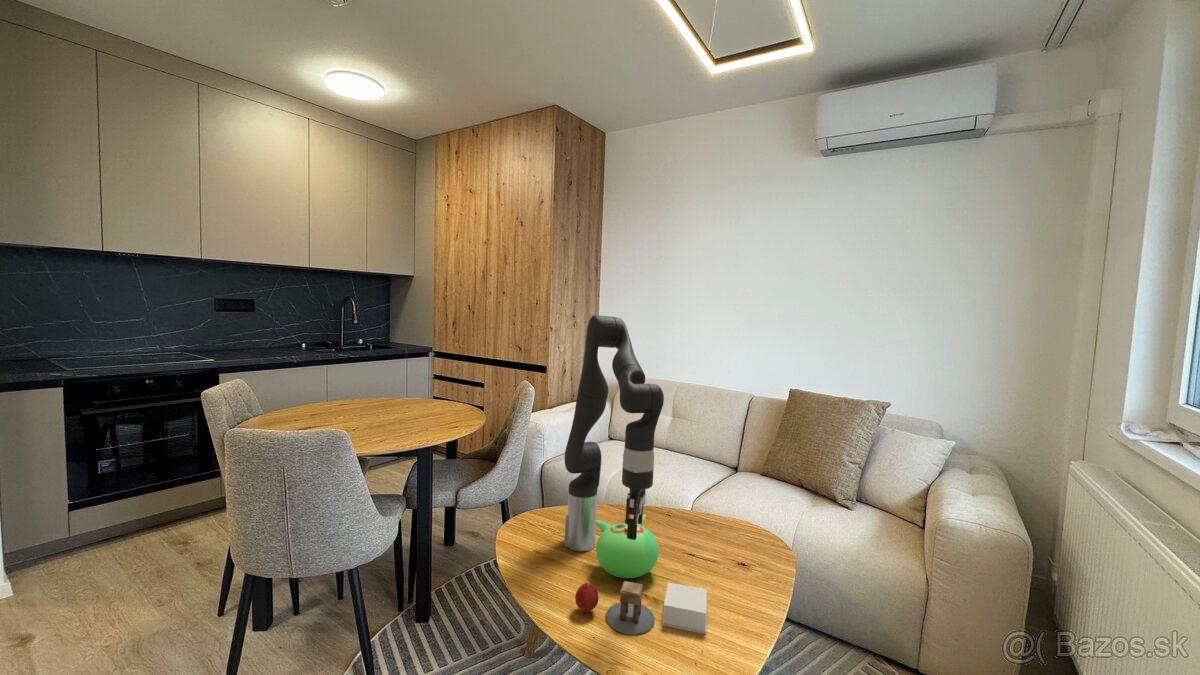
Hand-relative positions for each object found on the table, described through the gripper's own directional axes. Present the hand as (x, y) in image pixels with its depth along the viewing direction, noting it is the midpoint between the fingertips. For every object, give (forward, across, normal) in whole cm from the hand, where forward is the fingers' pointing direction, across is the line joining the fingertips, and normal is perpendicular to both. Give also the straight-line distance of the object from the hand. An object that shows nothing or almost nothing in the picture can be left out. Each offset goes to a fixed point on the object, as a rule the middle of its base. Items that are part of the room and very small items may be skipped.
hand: (634, 530), depth 113 cm
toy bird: (+22, -20, -5) cm, 30 cm away
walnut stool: (+22, 0, 0) cm, 22 cm away
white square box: (+22, -5, +13) cm, 26 cm away
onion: (+22, +1, -11) cm, 25 cm away
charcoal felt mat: (+22, 0, 0) cm, 22 cm away
